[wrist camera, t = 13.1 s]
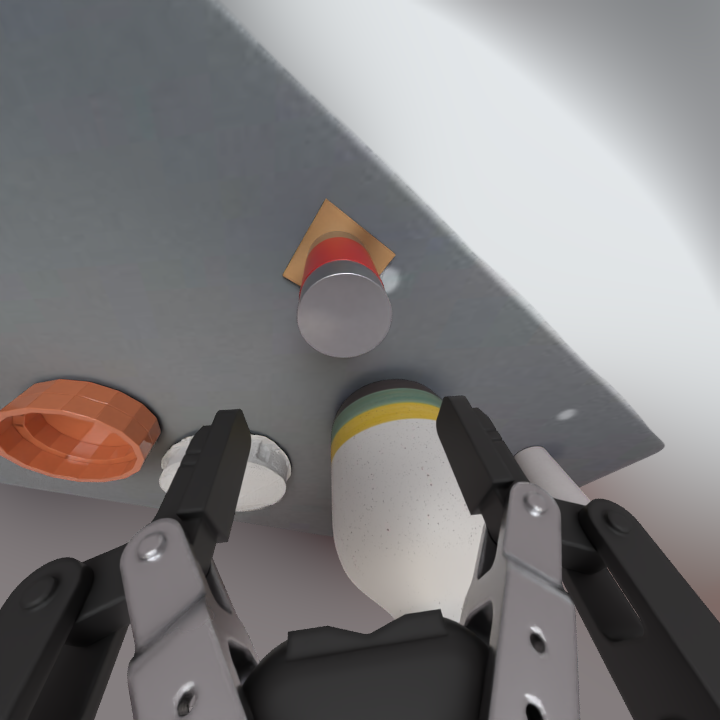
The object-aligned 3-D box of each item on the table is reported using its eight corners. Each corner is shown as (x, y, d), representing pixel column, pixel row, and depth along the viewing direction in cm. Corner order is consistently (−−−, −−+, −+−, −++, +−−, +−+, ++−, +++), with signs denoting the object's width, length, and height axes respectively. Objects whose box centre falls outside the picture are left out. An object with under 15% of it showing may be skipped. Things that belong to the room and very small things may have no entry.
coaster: (282, 274, 26) (282, 275, 26) (325, 198, 23) (325, 198, 22) (348, 314, 30) (348, 315, 29) (394, 253, 26) (395, 254, 26)
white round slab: (317, 456, 46) (316, 496, 40) (253, 502, 53) (245, 541, 48) (203, 407, 36) (182, 451, 31) (145, 472, 43) (119, 516, 38)
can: (293, 273, 26) (278, 332, 17) (328, 214, 23) (330, 249, 14) (346, 306, 29) (355, 371, 20) (383, 257, 26) (412, 308, 17)
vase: (396, 451, 47) (443, 646, 29) (310, 426, 41) (298, 659, 22) (463, 390, 39) (591, 606, 21) (370, 346, 33) (433, 607, 14)
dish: (23, 431, 35) (-15, 465, 31) (27, 357, 29) (-20, 389, 25) (148, 459, 42) (130, 490, 38) (174, 403, 35) (155, 435, 31)
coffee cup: (497, 469, 56) (543, 553, 44) (518, 441, 50) (578, 530, 38) (537, 467, 57) (592, 548, 45) (562, 440, 51) (633, 525, 39)
